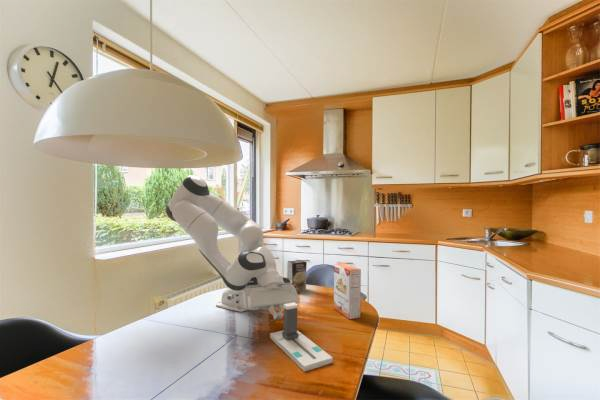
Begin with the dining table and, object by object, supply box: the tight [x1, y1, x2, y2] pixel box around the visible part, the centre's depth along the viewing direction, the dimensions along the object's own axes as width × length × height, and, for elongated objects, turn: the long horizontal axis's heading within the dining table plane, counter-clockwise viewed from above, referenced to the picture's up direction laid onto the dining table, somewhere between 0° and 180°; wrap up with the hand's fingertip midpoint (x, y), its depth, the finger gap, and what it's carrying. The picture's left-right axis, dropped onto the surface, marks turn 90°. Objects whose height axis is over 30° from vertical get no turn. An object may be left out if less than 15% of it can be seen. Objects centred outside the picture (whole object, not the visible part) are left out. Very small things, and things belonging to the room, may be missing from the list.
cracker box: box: [333, 262, 362, 320], centre depth 128 cm, size 14×6×21 cm, turn 21°
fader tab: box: [282, 302, 299, 340], centre depth 101 cm, size 4×4×11 cm
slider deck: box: [269, 329, 334, 372], centre depth 95 cm, size 24×10×2 cm, turn 30°
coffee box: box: [286, 259, 307, 293], centre depth 161 cm, size 9×6×16 cm
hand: (278, 318), depth 105 cm, fingers closed
